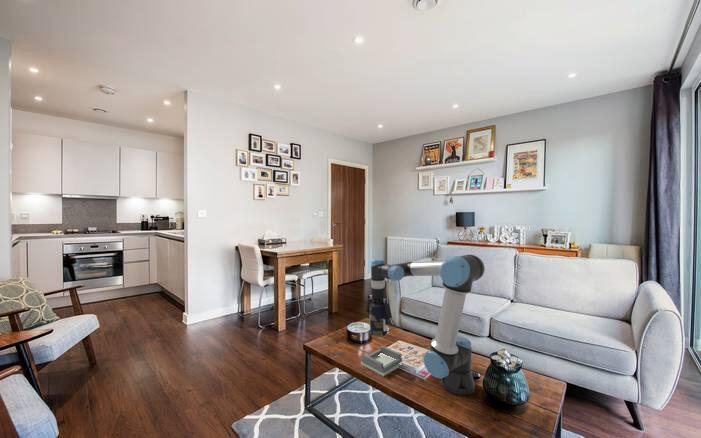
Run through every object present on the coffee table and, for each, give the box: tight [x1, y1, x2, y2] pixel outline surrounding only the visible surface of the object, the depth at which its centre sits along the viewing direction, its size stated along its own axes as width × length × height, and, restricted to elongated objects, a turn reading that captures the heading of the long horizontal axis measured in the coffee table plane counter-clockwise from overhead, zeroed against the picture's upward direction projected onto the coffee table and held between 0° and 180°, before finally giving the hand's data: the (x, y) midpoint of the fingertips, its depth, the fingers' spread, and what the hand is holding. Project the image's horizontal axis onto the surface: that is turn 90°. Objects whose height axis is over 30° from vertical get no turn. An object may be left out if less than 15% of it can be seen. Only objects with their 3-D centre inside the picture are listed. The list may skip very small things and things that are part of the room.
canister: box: [369, 303, 388, 338], centre depth 160 cm, size 10×10×18 cm
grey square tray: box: [360, 345, 403, 377], centre depth 157 cm, size 16×16×6 cm
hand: (378, 327), depth 160 cm, fingers closed on canister, 9 cm apart
